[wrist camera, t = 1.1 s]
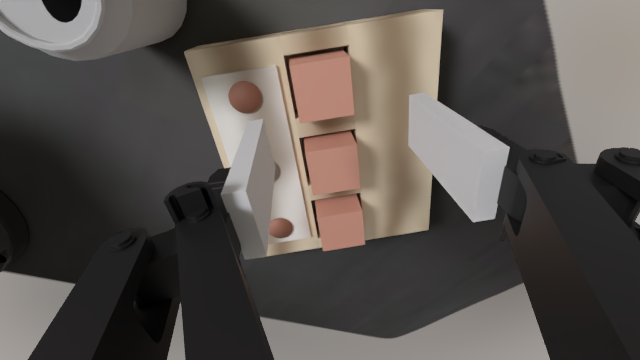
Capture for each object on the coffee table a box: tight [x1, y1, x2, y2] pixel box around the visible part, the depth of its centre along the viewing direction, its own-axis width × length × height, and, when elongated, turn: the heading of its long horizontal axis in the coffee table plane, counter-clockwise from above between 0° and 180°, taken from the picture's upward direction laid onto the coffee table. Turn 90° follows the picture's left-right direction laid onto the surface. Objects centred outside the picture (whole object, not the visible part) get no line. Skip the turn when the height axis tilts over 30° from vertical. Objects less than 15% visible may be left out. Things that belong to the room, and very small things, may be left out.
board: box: [184, 9, 443, 258], centre depth 30 cm, size 20×22×4 cm
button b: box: [304, 130, 360, 196], centre depth 28 cm, size 4×4×4 cm
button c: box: [289, 50, 354, 124], centre depth 24 cm, size 4×4×4 cm
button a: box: [315, 193, 365, 251], centre depth 31 cm, size 4×4×4 cm
